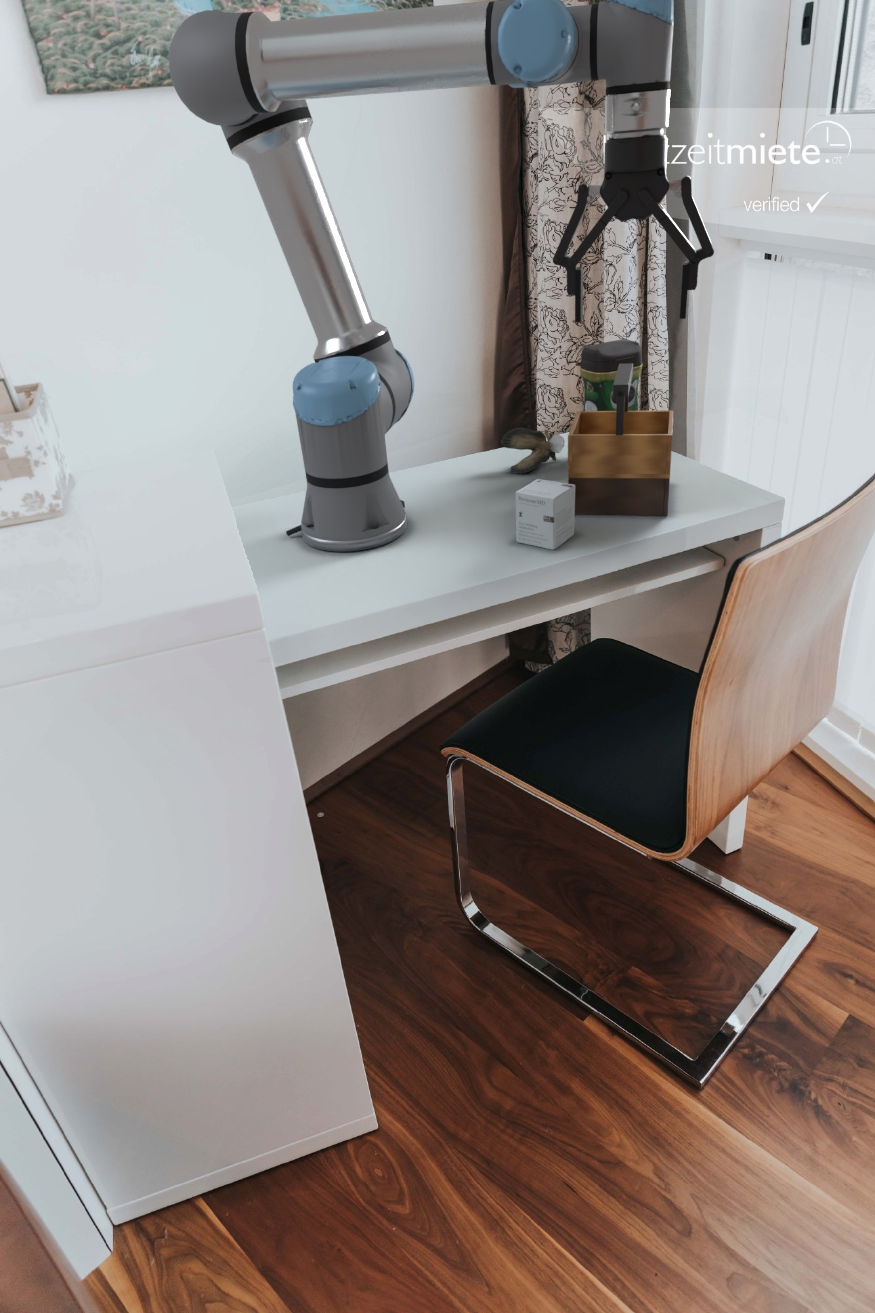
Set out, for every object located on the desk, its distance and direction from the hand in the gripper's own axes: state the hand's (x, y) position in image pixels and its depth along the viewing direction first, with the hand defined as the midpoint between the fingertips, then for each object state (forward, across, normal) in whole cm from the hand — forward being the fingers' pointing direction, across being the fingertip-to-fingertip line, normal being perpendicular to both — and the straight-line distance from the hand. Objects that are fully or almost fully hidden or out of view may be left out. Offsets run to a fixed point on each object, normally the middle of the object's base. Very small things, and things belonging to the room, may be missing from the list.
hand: (630, 318), depth 118 cm
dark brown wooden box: (+26, -1, 0) cm, 26 cm away
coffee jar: (+26, -4, +20) cm, 33 cm away
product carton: (+26, -10, -15) cm, 31 cm away
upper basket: (+21, -1, 0) cm, 21 cm away
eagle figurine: (+26, -16, +15) cm, 34 cm away
